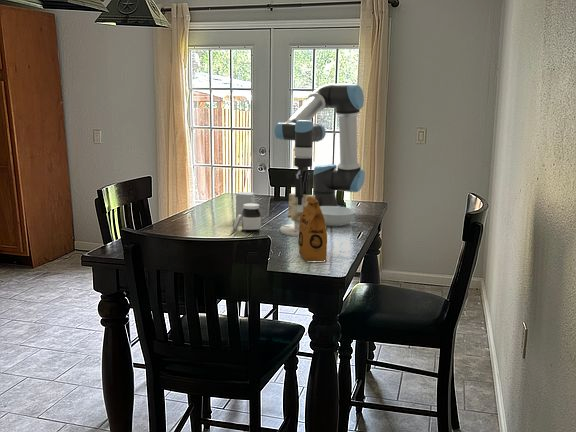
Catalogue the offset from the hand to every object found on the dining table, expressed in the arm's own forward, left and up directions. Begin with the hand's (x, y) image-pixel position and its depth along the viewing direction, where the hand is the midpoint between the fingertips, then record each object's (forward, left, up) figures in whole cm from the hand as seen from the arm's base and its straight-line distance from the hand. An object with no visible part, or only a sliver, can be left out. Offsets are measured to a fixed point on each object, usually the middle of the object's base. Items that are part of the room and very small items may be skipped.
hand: (301, 211), depth 247 cm
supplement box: (+15, -31, -9) cm, 36 cm away
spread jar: (+22, -9, -9) cm, 26 cm away
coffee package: (+14, +40, -9) cm, 43 cm away
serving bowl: (-20, -9, -9) cm, 24 cm away
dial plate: (0, 0, -9) cm, 9 cm away
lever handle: (0, 0, -4) cm, 4 cm away
